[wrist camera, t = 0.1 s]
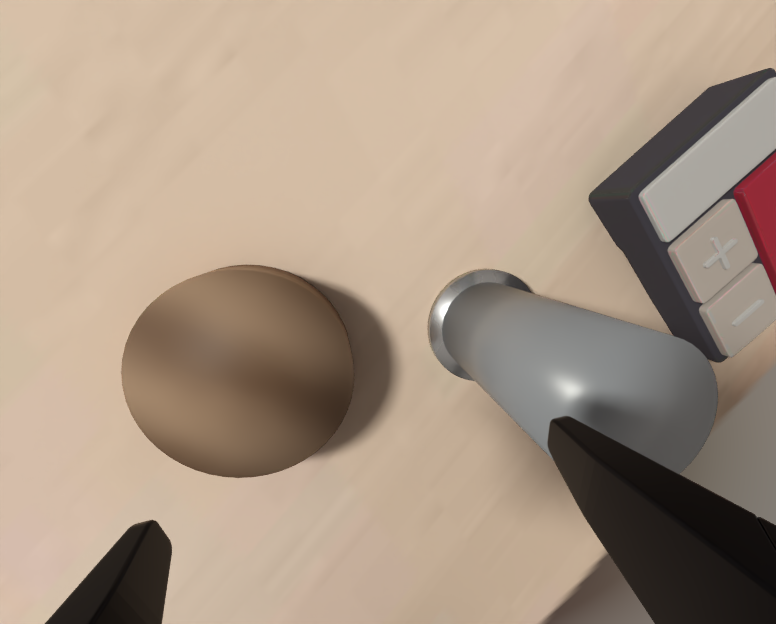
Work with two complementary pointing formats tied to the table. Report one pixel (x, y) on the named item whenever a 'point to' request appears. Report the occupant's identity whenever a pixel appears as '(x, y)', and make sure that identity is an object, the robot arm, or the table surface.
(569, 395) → the grey cylinder
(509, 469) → the table surface
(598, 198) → the calculator
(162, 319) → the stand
